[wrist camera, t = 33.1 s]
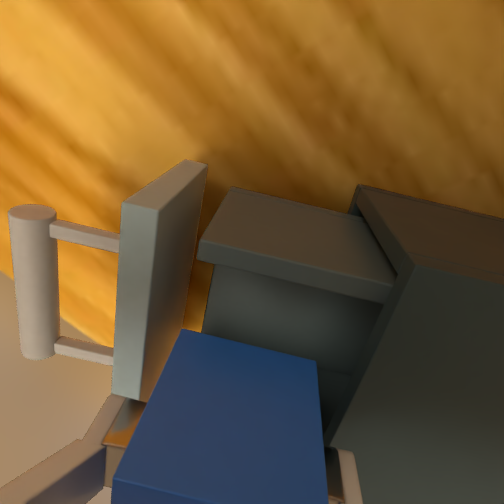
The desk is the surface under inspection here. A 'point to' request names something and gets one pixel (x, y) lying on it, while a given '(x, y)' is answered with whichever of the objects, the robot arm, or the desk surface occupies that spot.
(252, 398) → the blue cube
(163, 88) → the desk surface
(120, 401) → the robot arm
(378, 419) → the grey drawer cabinet
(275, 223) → the drawer
